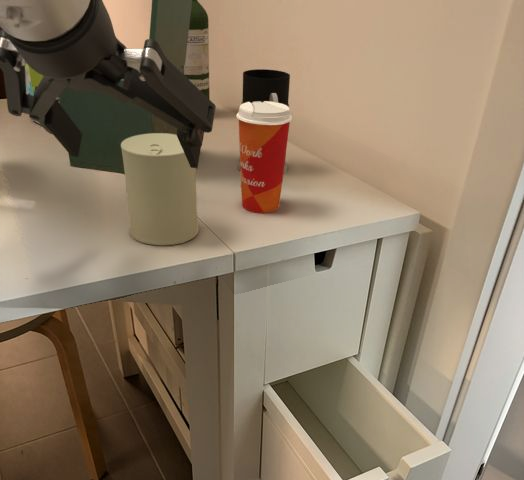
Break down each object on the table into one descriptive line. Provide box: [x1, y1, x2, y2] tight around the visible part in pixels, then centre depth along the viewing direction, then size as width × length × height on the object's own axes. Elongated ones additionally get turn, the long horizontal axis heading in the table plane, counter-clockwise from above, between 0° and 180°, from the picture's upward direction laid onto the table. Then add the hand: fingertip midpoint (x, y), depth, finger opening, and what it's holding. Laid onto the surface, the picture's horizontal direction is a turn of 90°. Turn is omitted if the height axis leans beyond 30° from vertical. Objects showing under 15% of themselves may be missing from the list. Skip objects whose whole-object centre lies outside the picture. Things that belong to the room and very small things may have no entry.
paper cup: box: [235, 101, 293, 214], centre depth 79 cm, size 8×8×14 cm
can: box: [121, 133, 200, 246], centre depth 71 cm, size 9×9×12 cm
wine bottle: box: [181, 0, 211, 101], centre depth 114 cm, size 8×8×30 cm
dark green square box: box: [59, 67, 183, 174], centre depth 93 cm, size 16×14×14 cm
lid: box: [148, 0, 192, 68], centre depth 82 cm, size 16×14×1 cm
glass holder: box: [237, 68, 291, 175], centre depth 90 cm, size 9×14×15 cm, turn 9°
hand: (136, 150), depth 61 cm, fingers open, 13 cm apart
